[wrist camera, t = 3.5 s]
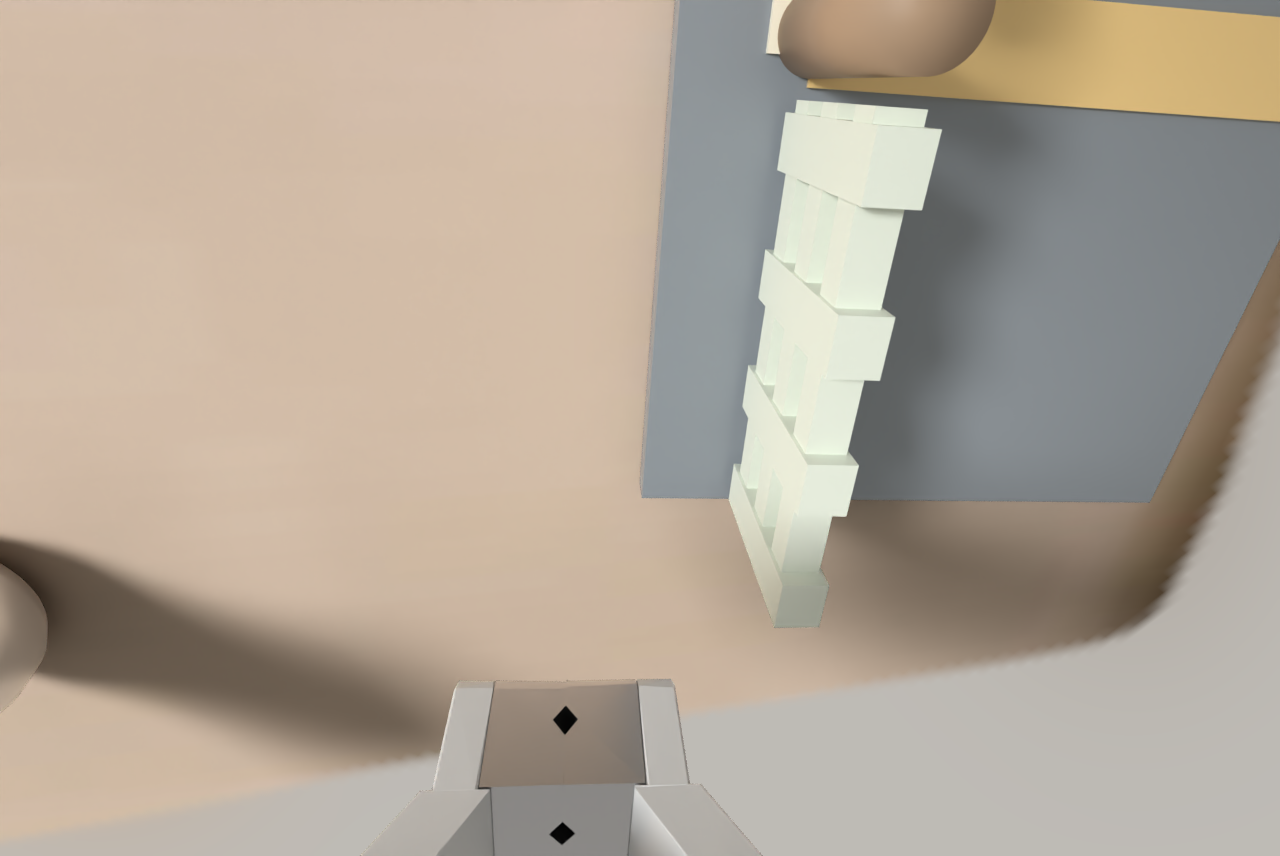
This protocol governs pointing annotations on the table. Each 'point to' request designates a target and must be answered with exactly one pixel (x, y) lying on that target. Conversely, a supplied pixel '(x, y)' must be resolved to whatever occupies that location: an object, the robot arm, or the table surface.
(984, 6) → the fence fixed
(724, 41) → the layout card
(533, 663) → the table surface
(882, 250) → the fence hinged
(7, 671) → the plastic bottle
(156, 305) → the table surface
